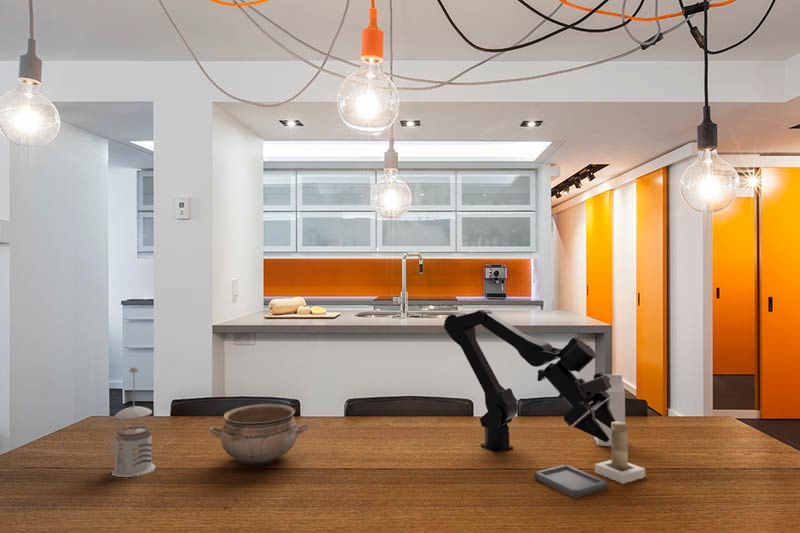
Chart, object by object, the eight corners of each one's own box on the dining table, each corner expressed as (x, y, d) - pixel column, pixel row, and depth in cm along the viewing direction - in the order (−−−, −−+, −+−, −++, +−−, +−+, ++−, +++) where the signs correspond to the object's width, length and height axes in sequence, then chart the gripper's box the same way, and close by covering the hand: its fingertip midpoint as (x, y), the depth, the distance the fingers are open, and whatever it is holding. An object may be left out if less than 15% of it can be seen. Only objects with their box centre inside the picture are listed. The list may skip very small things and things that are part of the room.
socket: (595, 472, 123) (594, 463, 123) (616, 466, 126) (616, 458, 126) (622, 483, 116) (622, 474, 116) (645, 477, 119) (645, 468, 120)
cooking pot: (312, 446, 141) (312, 402, 141) (306, 473, 122) (306, 421, 123) (218, 450, 139) (218, 404, 139) (198, 477, 120) (198, 425, 120)
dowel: (608, 473, 122) (607, 422, 122) (618, 471, 123) (618, 420, 124) (621, 478, 119) (620, 426, 119) (631, 476, 120) (630, 424, 120)
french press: (165, 465, 128) (165, 364, 128) (126, 483, 117) (126, 373, 117) (134, 460, 131) (134, 362, 131) (93, 478, 120) (94, 370, 120)
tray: (534, 478, 119) (534, 472, 119) (566, 470, 124) (566, 464, 124) (574, 498, 108) (574, 491, 108) (607, 488, 113) (607, 481, 113)
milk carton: (625, 447, 140) (624, 377, 140) (597, 446, 141) (597, 376, 142) (619, 439, 147) (619, 372, 147) (593, 437, 148) (592, 371, 149)
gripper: (576, 368, 118) (628, 425, 111) (600, 358, 133) (648, 407, 126) (543, 398, 123) (591, 454, 116) (570, 385, 138) (614, 433, 131)
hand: (613, 436), depth 122 cm, fingers open, 9 cm apart
